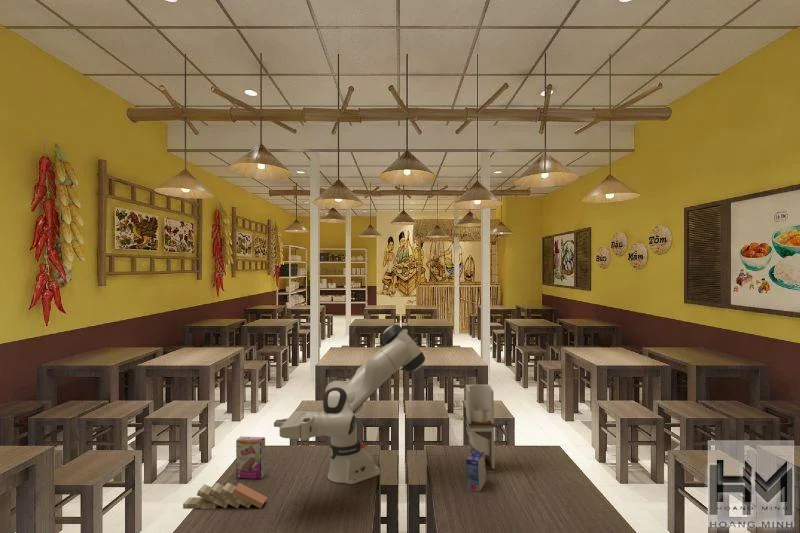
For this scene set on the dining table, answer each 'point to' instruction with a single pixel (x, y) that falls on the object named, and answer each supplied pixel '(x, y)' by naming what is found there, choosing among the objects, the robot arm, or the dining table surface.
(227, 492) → the cream domino
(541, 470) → the dining table surface
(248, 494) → the terracotta domino
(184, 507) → the cream domino
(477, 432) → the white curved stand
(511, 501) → the dining table surface
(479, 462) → the ink cartridge box
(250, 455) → the candy bar box
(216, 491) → the cream domino
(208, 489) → the cream domino
